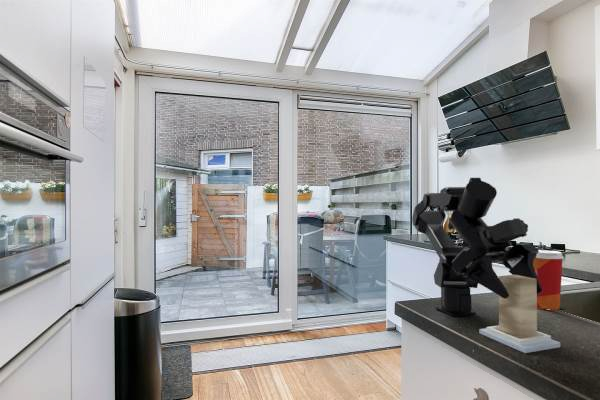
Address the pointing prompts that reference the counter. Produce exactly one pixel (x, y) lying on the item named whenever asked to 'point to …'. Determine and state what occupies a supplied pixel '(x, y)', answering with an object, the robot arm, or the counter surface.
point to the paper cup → (549, 278)
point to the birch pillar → (518, 307)
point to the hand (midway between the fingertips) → (524, 294)
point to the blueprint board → (521, 340)
